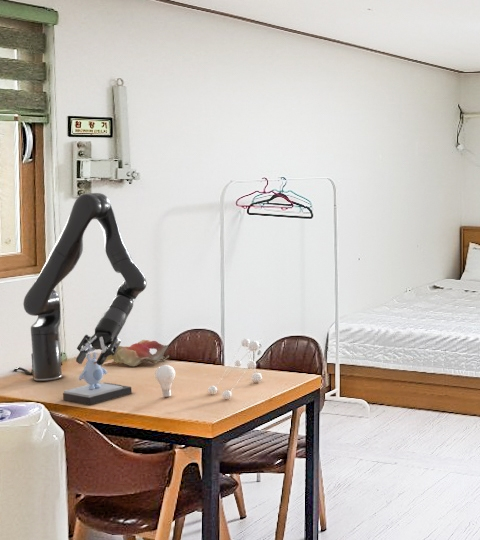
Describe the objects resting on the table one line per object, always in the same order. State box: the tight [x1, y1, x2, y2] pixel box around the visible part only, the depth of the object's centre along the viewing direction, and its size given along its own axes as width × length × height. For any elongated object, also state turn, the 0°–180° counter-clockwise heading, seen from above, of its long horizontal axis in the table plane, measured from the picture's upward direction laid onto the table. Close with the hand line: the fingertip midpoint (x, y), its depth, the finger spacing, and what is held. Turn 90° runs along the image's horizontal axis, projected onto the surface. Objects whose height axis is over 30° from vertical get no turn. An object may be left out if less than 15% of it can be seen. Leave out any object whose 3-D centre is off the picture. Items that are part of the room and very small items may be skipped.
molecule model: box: [207, 338, 263, 400], centre depth 299 cm, size 14×25×18 cm, turn 155°
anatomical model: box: [100, 339, 170, 367], centre depth 347 cm, size 23×25×10 cm
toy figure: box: [78, 352, 108, 390], centre depth 292 cm, size 11×6×12 cm, turn 150°
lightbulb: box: [154, 364, 177, 398], centre depth 292 cm, size 6×6×11 cm
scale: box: [62, 382, 133, 406], centre depth 294 cm, size 14×16×3 cm
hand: (88, 363), depth 291 cm, fingers open, 8 cm apart
